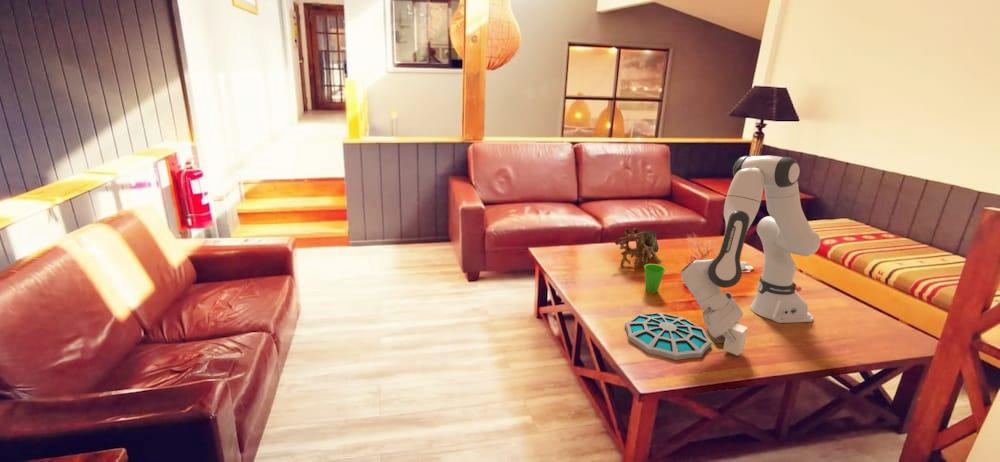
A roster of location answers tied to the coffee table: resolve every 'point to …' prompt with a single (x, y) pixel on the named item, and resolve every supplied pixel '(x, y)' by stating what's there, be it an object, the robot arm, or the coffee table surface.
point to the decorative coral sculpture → (639, 246)
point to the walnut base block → (717, 338)
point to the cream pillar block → (740, 336)
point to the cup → (653, 276)
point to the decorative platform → (667, 336)
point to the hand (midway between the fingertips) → (737, 338)
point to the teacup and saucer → (743, 266)
